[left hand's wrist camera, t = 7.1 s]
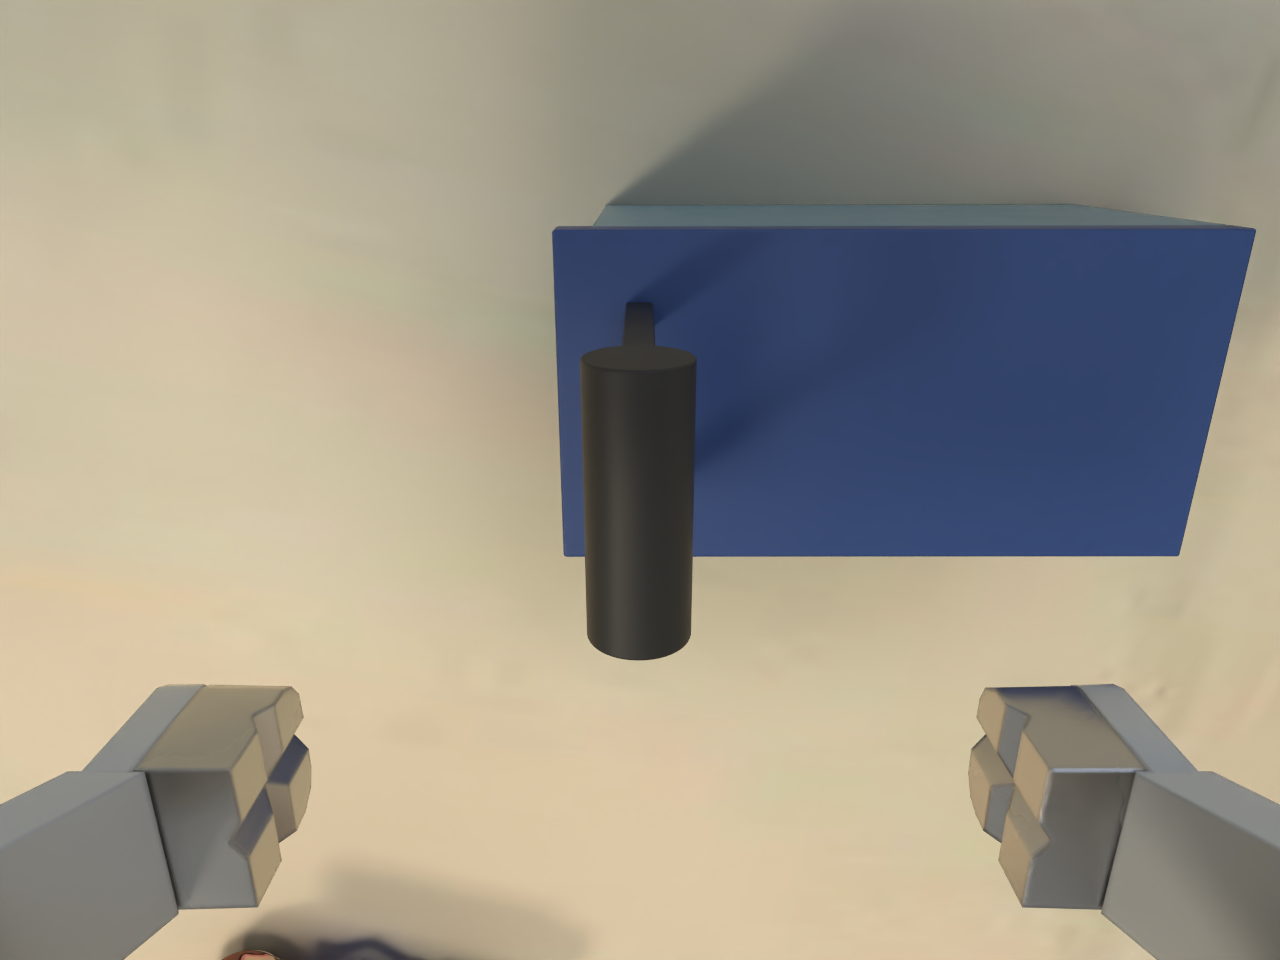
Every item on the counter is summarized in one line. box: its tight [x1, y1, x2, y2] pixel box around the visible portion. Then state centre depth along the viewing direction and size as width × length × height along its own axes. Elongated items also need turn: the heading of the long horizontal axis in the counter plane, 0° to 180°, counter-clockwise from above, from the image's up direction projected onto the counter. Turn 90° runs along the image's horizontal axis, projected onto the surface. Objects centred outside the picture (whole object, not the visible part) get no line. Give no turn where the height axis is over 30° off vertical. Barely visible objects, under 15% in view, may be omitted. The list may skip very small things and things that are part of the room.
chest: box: [594, 204, 1224, 226], centre depth 29 cm, size 17×9×9 cm, turn 90°
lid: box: [552, 225, 1256, 660], centre depth 21 cm, size 18×9×9 cm, turn 90°
